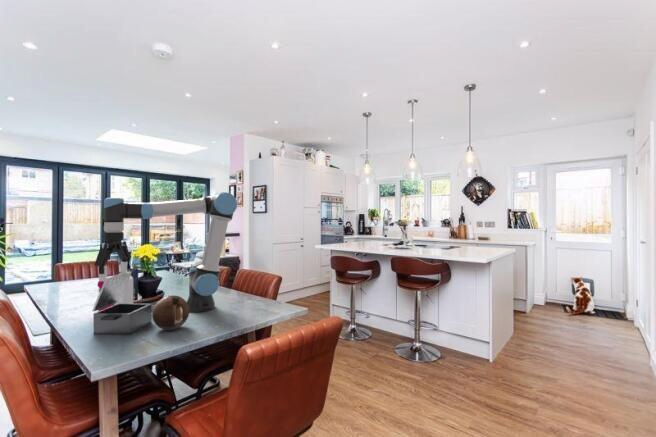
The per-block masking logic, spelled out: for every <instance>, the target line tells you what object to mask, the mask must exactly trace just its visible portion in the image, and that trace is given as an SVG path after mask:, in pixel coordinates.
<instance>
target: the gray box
mask: <svg viewBox="0 0 656 437" xmlns="http://www.w3.org/2000/svg"><path fill="white" fill-rule="evenodd" d="M150 324H152V304H151V303H133V304H116V305H114V304H113V306H111V307H109V308H106V309H104V310H101V311H98V310H97V311H95V312H94V313H93V335H112V336H113V335H114V336H115V335H121V336H123V335H124V336H125V335H126V336H130V335H132V334H134V333H135V332H138V331H139V330H141V329H143V328H145V327H147V326H148V325H150Z"/></svg>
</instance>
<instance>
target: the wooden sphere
mask: <svg viewBox="0 0 656 437" xmlns="http://www.w3.org/2000/svg"><path fill="white" fill-rule="evenodd" d="M189 316H190V312H189V306H188V304H187V301H186V300H185V299H184V298H183V297H181V296H179V295H168V296H164V297H162V298H161V299H159V300H158V301H157V303H155V306H153V309H152V313H151V317H152V320H153V323H154V324H155V325H156V326H157V327H158V328H159V329H161V330H165V331H172V330H176V329H179V328H180V327H181V326H183V325H184V324H185V323H186V321H187V320H188V318H189Z"/></svg>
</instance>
